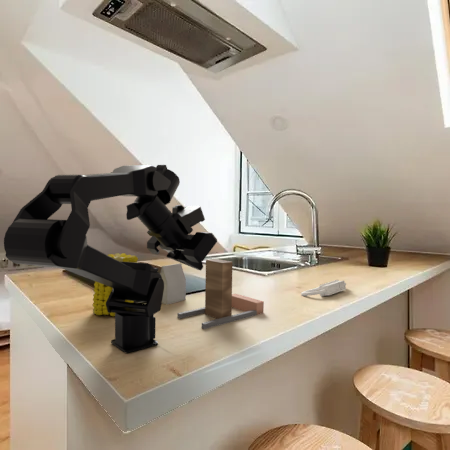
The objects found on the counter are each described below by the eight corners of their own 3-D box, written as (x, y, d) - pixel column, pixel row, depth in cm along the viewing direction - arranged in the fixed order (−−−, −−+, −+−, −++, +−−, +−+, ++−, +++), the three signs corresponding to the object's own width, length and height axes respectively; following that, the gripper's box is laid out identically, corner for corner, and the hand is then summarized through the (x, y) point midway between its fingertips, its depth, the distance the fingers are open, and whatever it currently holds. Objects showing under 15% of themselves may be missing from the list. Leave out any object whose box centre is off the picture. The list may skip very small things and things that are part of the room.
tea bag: (185, 300, 99) (185, 264, 98) (167, 305, 94) (167, 267, 93) (176, 298, 101) (176, 262, 101) (157, 302, 96) (157, 265, 95)
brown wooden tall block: (221, 320, 81) (222, 263, 81) (205, 314, 86) (205, 259, 85) (231, 317, 83) (232, 261, 83) (214, 311, 88) (215, 258, 87)
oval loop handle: (329, 290, 121) (327, 279, 122) (352, 288, 116) (350, 276, 116) (297, 301, 107) (294, 288, 107) (321, 299, 101) (318, 286, 102)
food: (86, 319, 86) (126, 313, 93) (106, 319, 78) (148, 313, 84) (84, 255, 89) (122, 254, 95) (103, 249, 80) (144, 248, 87)
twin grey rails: (204, 329, 76) (204, 315, 75) (177, 318, 83) (177, 305, 83) (263, 313, 88) (263, 301, 88) (235, 304, 95) (235, 293, 95)
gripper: (210, 191, 69) (249, 245, 77) (159, 193, 83) (196, 238, 91) (175, 233, 64) (221, 287, 72) (127, 228, 78) (169, 273, 86)
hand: (201, 268), depth 81 cm, fingers closed
